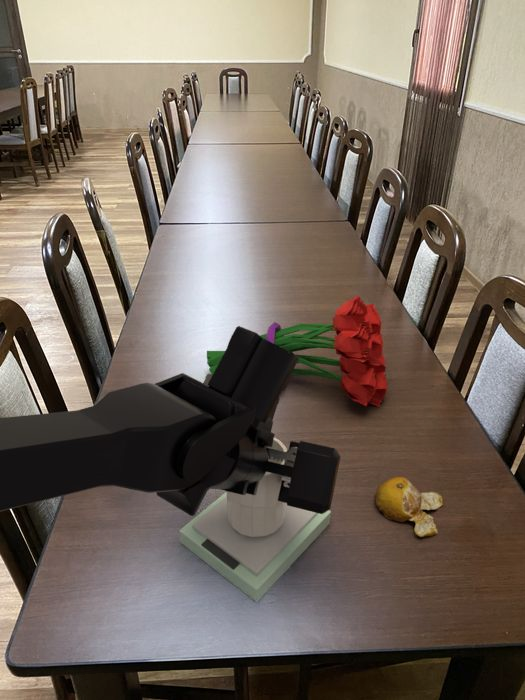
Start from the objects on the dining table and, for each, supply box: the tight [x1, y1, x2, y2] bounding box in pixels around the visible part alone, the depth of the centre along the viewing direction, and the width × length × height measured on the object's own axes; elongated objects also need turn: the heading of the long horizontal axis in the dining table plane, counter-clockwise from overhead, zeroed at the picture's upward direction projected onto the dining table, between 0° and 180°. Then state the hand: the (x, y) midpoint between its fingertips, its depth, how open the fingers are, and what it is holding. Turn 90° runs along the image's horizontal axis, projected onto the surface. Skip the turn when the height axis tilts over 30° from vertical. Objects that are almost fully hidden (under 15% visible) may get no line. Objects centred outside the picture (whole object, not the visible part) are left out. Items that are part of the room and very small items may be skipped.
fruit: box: [373, 476, 444, 538], centre depth 68 cm, size 8×8×4 cm
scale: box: [179, 491, 332, 603], centre depth 65 cm, size 14×12×3 cm
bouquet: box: [206, 294, 388, 407], centre depth 88 cm, size 20×16×30 cm
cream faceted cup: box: [227, 437, 288, 537], centre depth 61 cm, size 7×7×10 cm
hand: (260, 465), depth 61 cm, fingers closed on cream faceted cup, 7 cm apart
